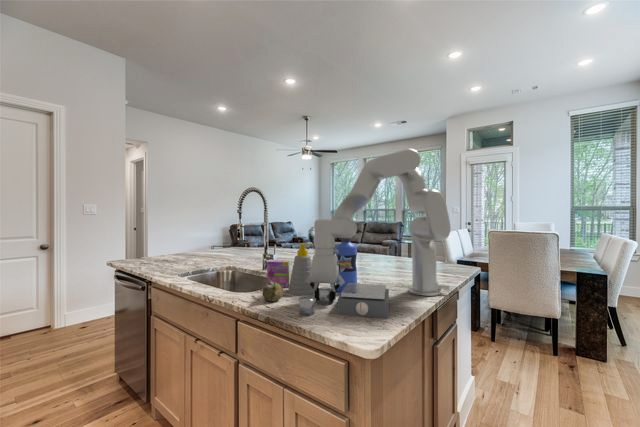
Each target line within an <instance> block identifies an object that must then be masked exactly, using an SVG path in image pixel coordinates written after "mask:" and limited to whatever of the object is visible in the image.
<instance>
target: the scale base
mask: <svg viewBox="0 0 640 427" xmlns="http://www.w3.org/2000/svg"><path fill="white" fill-rule="evenodd" d="M389 306H390V290H389V289H388V288H386V292H385V299H372V298H357V297H342V296H341V294H340V295H339V296H338V298H337V315H344V316H345V315H347V316H360V317H369V318H372V317H373V318H382V319H388V318H389V309H390V308H389Z"/></svg>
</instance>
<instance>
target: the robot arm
mask: <svg viewBox="0 0 640 427" xmlns="http://www.w3.org/2000/svg"><path fill="white" fill-rule="evenodd" d="M421 160H422V159H421V156H420V153H419V152H418V150H416V149H414V148H412V147H410V148H404V149H402V150H398V151H395V152H392V153H388V154H384V155H381V156H378V157H374V158H372V159H370V160H368V161H367V162H366V163H365V164H364V166H362V167H363V168H362V169H361V171H360V173H359V174H358V176H357V179H356V180H355V183H354V184H353V185H352V188H351V190H350V191H349V192H348V193H347V195H346V196H345V198H343V200H342V201H341V203H339V205H338V207H337V208H336V210H335V211H334V213H333V215H332V217H331V218H318V219H316V220H315V221H314V228H313V229H314V255H313V256H312V258H311V262H312V266H311V274H310V275H309V277H308V278H307V279H306V282H307V283H308V284H310V286H311V287H312V288H313V290H314V291H315V293H314V299H315V302H317V303H318V289H319V288H320V287H319V286H320V284H328V285H329V284H330V288H331V289H332V291H331V304H332V303H334V302H335V300H336V294H337V291H336V290H337V289H338V288H339V287H340V286H341V285H343V284H344V283H345V281H344V280H343V279H342V277H341V276H340V275H339V265H338V258H337V256H336V253H339V250H338V249H336V248H335V246H336V245H335V244H336V241H335V240H336V238H339V239H341V238H351V239H352V237H354V236H355V235H356V233H357V231H358V226H357V224H356V222H355V221H354V220H353V219H352V218H353V217H354V216H355V214H356V213H357V212H358V211H359V210H360V209H362V208H363V207H365V206H366V205H367V204H368V203H370V202H371V201H372V198H373V196H374V195H375V193H376V191H377V189H378V187H379V185H380V183H381V181H382V180H384V179H389V178H393V177H397V178H399V179H400V181H401V183H402V186H403V188H404V193H405V198H406V202H407V207H408V209H409V211H410V212H412V213H414V214H421V215H419V216H417V217H415V218H413V219H412V220H411V221H410V224H409V233H410V234H409V235H410V238H411V248H412V249H411V250H412V251H411V253H412V255H411V256H412V257H411V258H412V259H411V261H412V266H411V267H412V268H411V270H412V271H411V272H412V273H411V274H412V276H411V277H412V282H411V284H412V285H411V286H410V287H408V292H409V293H411V294H412V295H418V296H424V297H434V296H439V295H440V294H442V290H450V284H445V283H439V282H438V280H437V278H438V277H437V269H438V268H437V265H438V264H437V252H438V251H437V247H436V243H435V241H439V242H440V241H441V242H442V241H444V240H446V239H448V237H449V236H450V234H451V229H452V228H451V220H450V216H449V211H448V206H447V201H446V199H445V196H444V195H443V193H442V192H440V191H439V190H438V189H433V188H428V187H427V184H426V181H425V177H424V175H423V173H422V171H421V170H420V169H419V168H418V167H419V166H420V164H421ZM422 214H423V215H422ZM338 280H339V281H340V282H339V283H338V284H337V285H336V283H337V281H338Z"/></svg>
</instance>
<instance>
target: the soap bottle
mask: <svg viewBox="0 0 640 427" xmlns="http://www.w3.org/2000/svg"><path fill="white" fill-rule="evenodd" d="M306 246H315V243H299V248H298V250H297V251H296V252H297V253H296V254H297V255H295V256H294V259H293V260H294V261H293V262H292V274H291V279H290V284H289V288H287V289H288V293H289V294H291V295H294V296H309V295H315V291H314V290H313V288H312V287H311V286H310V284H308V283H307V282H306V279H307V278H308V277H309V275H310V274H311V266H312V258H311V255H309V254H308V249H307V248H306Z"/></svg>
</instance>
